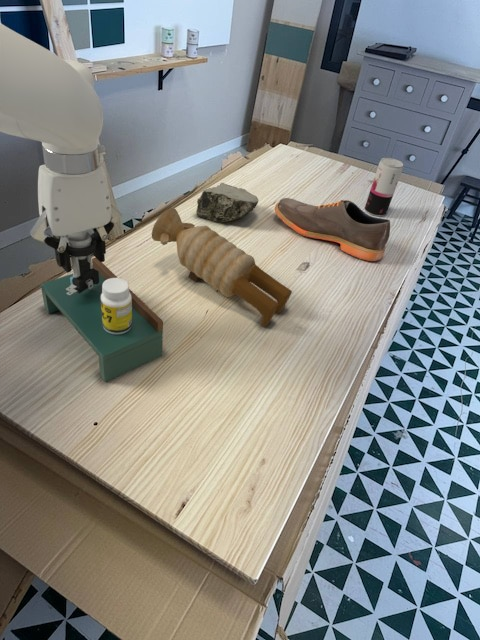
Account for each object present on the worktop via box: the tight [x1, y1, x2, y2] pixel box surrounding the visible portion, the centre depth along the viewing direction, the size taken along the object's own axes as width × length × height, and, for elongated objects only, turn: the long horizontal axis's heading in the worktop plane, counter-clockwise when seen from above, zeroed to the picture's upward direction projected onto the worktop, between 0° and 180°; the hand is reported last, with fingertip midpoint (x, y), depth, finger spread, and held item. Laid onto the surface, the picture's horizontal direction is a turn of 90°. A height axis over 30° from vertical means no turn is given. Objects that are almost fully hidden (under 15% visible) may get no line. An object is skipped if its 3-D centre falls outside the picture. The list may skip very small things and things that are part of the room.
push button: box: [66, 230, 99, 295], centre depth 78 cm, size 7×5×10 cm
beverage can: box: [364, 157, 404, 217], centre depth 133 cm, size 6×7×15 cm
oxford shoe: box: [274, 197, 391, 262], centre depth 119 cm, size 11×31×11 cm, turn 59°
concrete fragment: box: [195, 182, 259, 223], centre depth 121 cm, size 15×10×15 cm
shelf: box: [40, 257, 164, 383], centre depth 81 cm, size 11×22×8 cm, turn 42°
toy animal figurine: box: [151, 207, 293, 328], centre depth 95 cm, size 10×12×30 cm
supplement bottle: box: [101, 277, 132, 334], centre depth 74 cm, size 5×5×8 cm
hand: (82, 262), depth 79 cm, fingers closed on push button, 5 cm apart
